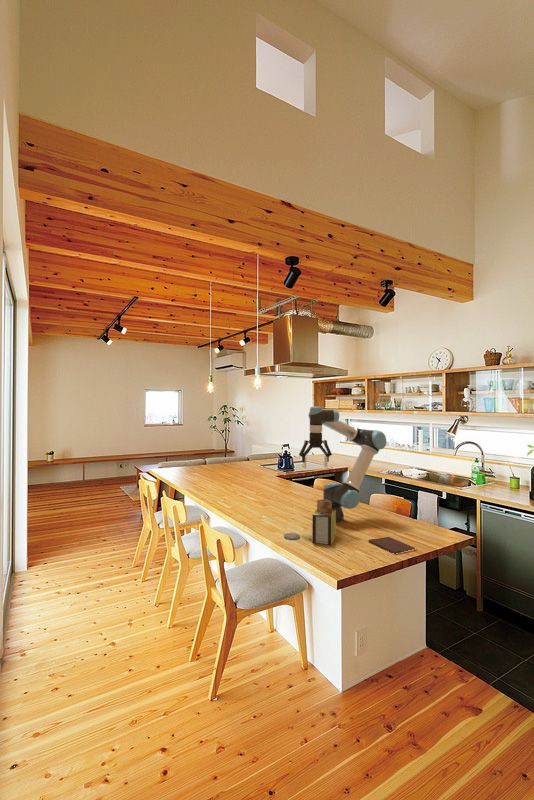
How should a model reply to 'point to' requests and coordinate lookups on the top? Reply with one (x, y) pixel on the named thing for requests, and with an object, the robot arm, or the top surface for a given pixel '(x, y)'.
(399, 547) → the notebook
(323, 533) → the protein box
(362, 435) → the robot arm
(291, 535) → the slate coaster
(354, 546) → the top surface
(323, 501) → the walnut block
